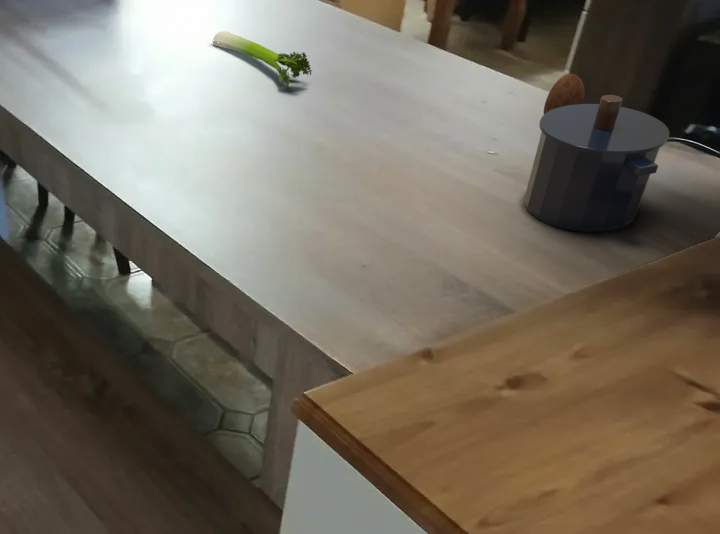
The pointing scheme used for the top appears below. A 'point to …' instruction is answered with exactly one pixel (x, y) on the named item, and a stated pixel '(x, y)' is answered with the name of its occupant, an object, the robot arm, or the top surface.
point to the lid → (604, 128)
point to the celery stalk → (265, 55)
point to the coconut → (565, 93)
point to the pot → (586, 187)
